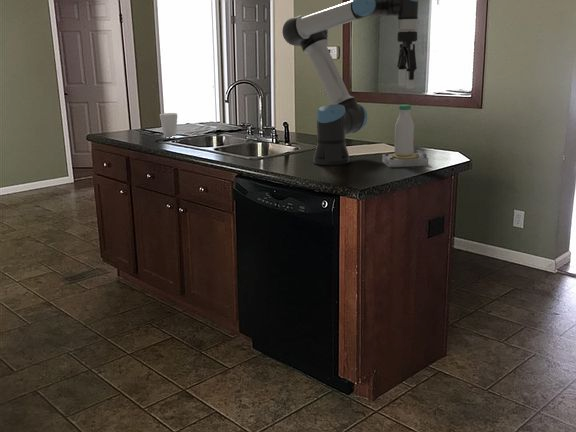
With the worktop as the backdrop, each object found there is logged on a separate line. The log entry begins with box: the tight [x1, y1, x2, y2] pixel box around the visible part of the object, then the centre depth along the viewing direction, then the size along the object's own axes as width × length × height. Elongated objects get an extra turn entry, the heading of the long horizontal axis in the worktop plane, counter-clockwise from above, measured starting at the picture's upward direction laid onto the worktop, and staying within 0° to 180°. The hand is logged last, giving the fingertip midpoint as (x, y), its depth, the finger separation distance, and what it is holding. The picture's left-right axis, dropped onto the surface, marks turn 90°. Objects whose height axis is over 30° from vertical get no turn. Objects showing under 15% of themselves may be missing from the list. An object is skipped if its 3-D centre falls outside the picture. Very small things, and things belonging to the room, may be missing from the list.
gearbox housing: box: [382, 149, 429, 168], centre depth 248 cm, size 16×12×4 cm
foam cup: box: [159, 112, 178, 138], centre depth 334 cm, size 10×9×13 cm
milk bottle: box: [394, 104, 415, 156], centre depth 245 cm, size 8×8×20 cm
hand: (406, 87), depth 240 cm, fingers open, 13 cm apart
